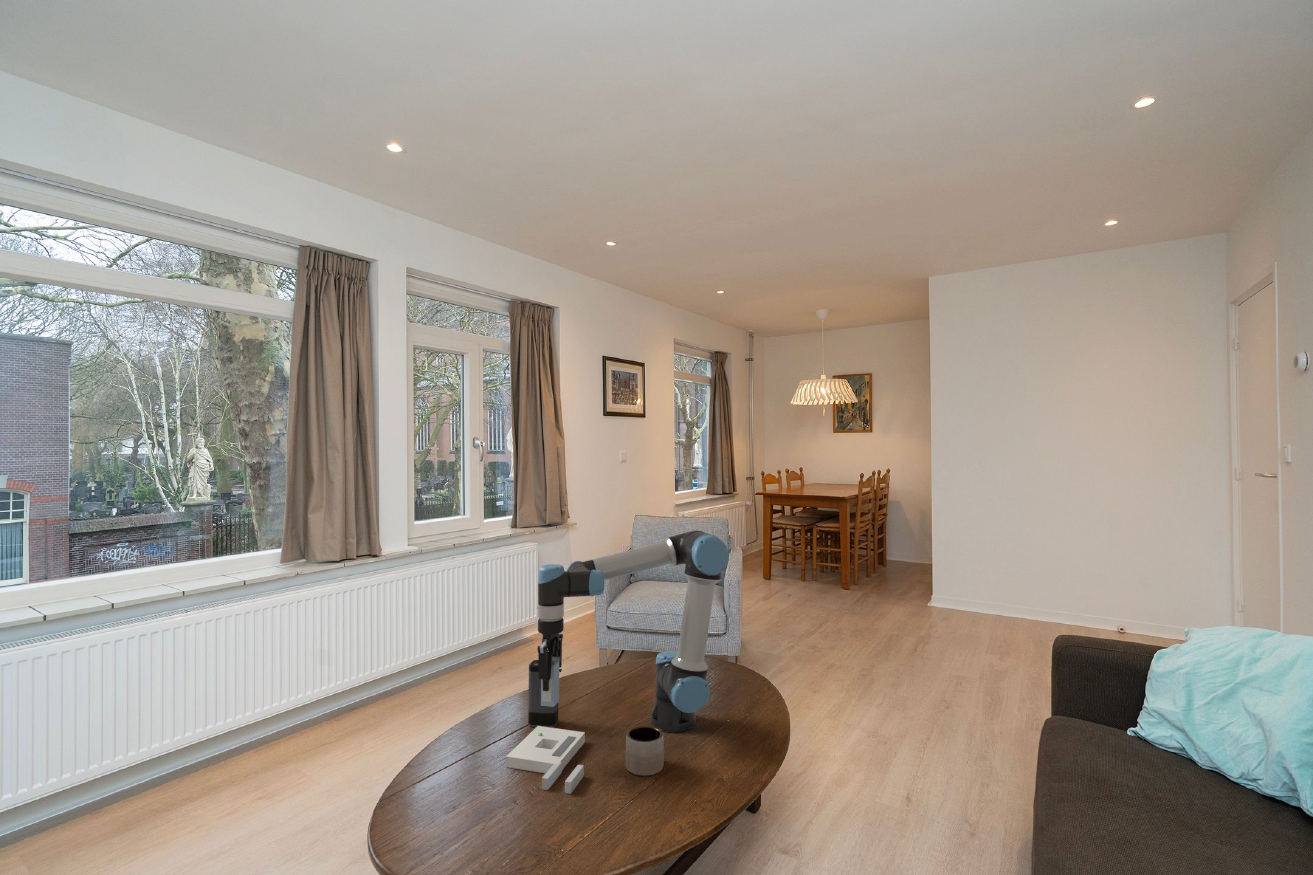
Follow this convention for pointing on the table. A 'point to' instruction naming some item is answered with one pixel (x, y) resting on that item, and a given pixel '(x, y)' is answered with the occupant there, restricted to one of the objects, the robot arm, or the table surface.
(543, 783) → the cradle
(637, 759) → the planter
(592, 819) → the table surface
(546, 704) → the plug
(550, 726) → the electronic device
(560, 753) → the port plate
